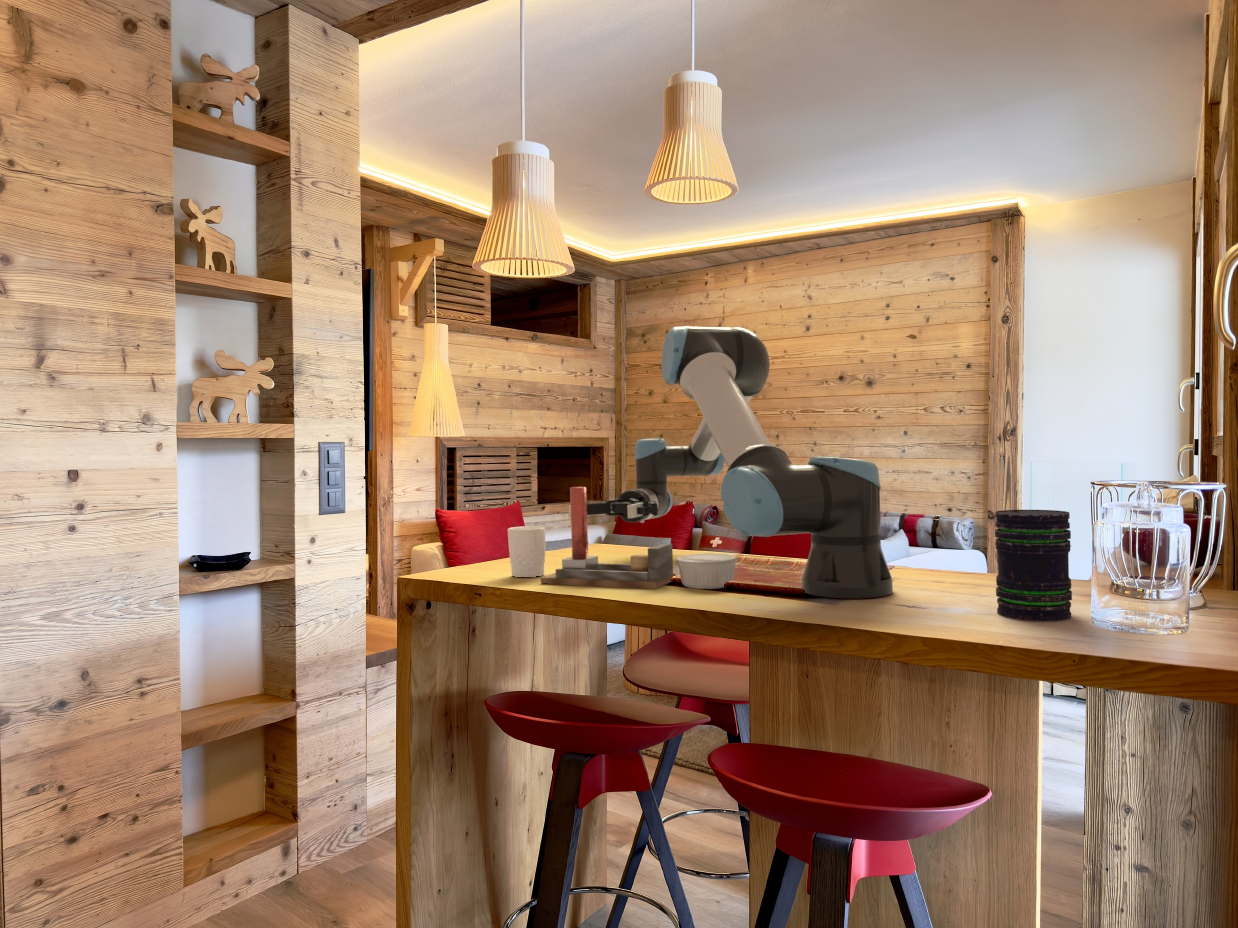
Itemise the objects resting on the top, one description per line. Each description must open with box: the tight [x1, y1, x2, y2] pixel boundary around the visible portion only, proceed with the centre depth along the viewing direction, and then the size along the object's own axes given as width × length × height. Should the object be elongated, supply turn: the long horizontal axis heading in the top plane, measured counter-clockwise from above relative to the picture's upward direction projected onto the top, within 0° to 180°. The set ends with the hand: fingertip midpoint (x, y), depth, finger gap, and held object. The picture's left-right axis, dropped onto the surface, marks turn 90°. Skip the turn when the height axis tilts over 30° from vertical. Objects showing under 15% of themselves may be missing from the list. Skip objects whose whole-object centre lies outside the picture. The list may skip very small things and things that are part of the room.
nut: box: [630, 554, 648, 572], centre depth 154 cm, size 4×4×4 cm
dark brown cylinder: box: [994, 509, 1073, 623], centre depth 117 cm, size 10×10×15 cm
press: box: [540, 543, 677, 590], centre depth 157 cm, size 24×11×7 cm, turn 67°
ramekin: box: [676, 552, 738, 590], centre depth 151 cm, size 11×11×5 cm
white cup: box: [507, 525, 547, 578], centre depth 168 cm, size 8×8×10 cm
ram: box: [561, 486, 599, 570], centre depth 159 cm, size 5×6×17 cm
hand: (599, 511), depth 168 cm, fingers open, 13 cm apart
